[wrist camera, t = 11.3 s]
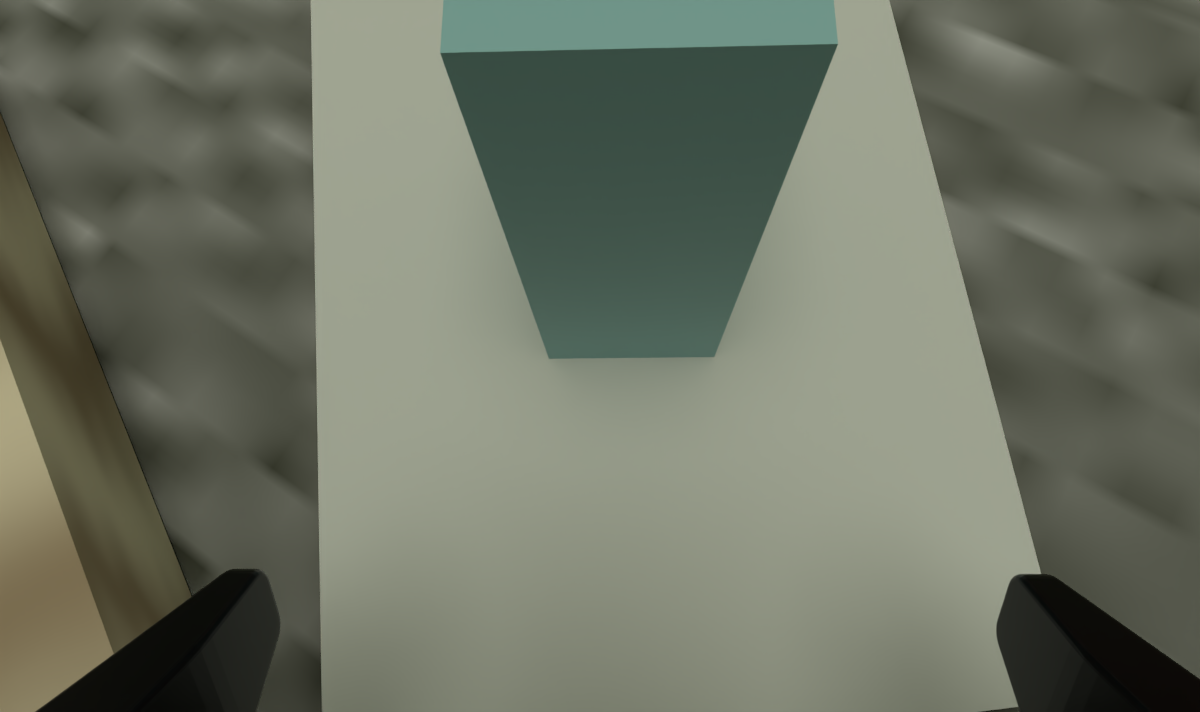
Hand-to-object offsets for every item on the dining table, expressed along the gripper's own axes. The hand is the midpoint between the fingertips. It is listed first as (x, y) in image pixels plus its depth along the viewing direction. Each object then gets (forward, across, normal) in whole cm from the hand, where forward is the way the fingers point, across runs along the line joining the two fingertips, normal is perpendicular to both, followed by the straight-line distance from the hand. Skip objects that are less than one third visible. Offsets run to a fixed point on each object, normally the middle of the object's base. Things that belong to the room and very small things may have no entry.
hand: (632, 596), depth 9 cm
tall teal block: (+9, 0, -1) cm, 9 cm away
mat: (+10, 0, -1) cm, 10 cm away
